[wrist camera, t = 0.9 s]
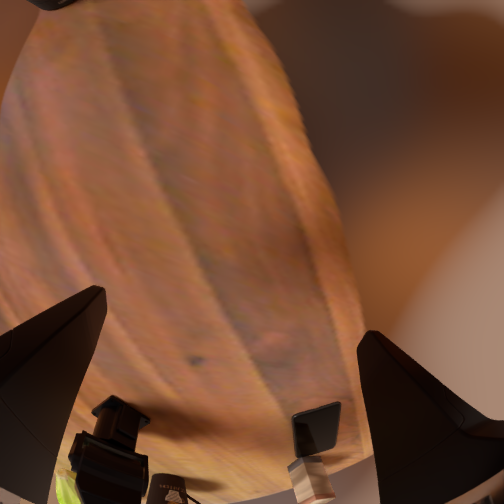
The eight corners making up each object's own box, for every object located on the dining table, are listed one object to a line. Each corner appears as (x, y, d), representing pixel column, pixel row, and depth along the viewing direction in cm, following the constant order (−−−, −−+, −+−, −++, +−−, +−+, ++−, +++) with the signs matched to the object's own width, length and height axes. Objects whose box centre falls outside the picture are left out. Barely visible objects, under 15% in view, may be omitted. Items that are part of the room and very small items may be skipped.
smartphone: (290, 412, 32) (294, 456, 37) (291, 417, 32) (296, 459, 36) (340, 397, 33) (334, 444, 38) (342, 401, 32) (335, 447, 37)
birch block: (287, 466, 38) (299, 508, 29) (301, 456, 37) (316, 500, 28) (305, 467, 39) (319, 506, 30) (320, 456, 38) (335, 497, 29)
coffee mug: (137, 474, 35) (133, 514, 25) (167, 468, 34) (166, 513, 25) (178, 492, 39) (179, 528, 29) (209, 486, 38) (212, 525, 29)
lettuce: (99, 462, 33) (89, 516, 20) (137, 496, 39) (134, 538, 27) (43, 448, 31) (29, 493, 18) (86, 486, 38) (79, 525, 25)
